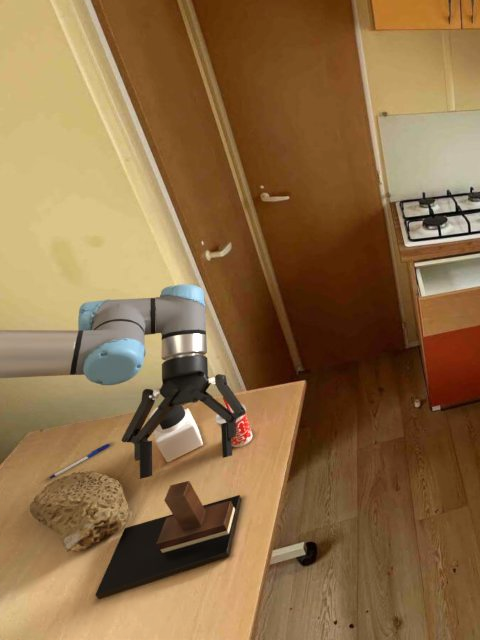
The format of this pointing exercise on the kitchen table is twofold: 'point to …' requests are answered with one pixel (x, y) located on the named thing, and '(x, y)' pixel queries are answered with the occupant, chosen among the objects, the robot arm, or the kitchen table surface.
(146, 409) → the robot arm
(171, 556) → the panel
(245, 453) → the kitchen table surface
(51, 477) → the ballpoint pen
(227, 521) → the brown block
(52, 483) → the sponge
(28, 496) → the kitchen table surface
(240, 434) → the beverage cup
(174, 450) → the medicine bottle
